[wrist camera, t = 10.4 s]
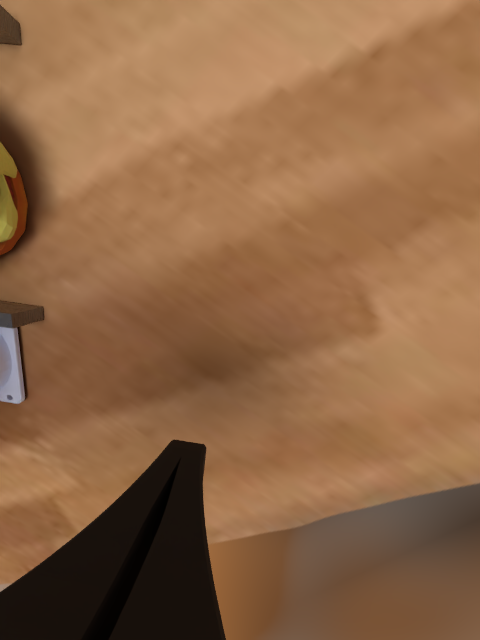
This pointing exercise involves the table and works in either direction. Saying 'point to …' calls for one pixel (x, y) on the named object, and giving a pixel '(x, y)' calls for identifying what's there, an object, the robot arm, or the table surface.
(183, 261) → the table surface
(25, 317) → the grey low angled fixture
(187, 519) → the robot arm
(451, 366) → the table surface
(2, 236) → the cheeseburger
